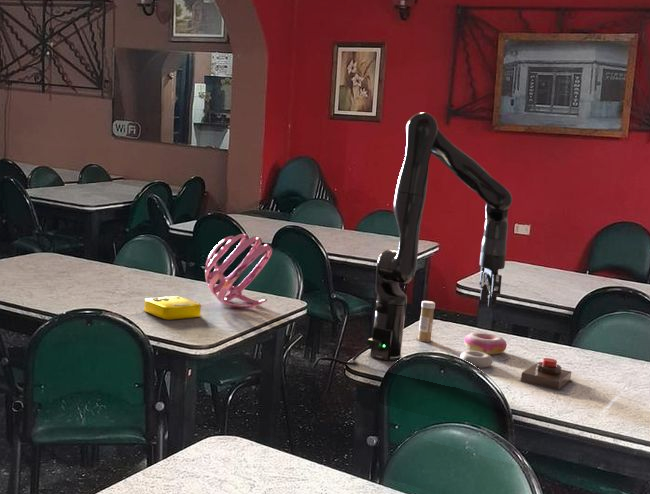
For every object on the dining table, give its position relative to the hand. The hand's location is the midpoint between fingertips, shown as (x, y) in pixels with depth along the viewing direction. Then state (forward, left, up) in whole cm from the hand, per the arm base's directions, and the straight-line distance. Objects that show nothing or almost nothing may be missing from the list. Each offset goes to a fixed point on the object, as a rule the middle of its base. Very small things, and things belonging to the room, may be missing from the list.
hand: (487, 303), depth 263 cm
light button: (+1, -21, -15) cm, 26 cm away
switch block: (-1, -21, -20) cm, 29 cm away
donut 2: (-1, +1, -20) cm, 20 cm away
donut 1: (+18, +5, -20) cm, 27 cm away
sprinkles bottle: (+14, +25, -20) cm, 35 cm away
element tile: (-27, +102, -20) cm, 107 cm away
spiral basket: (+5, +98, -20) cm, 100 cm away
